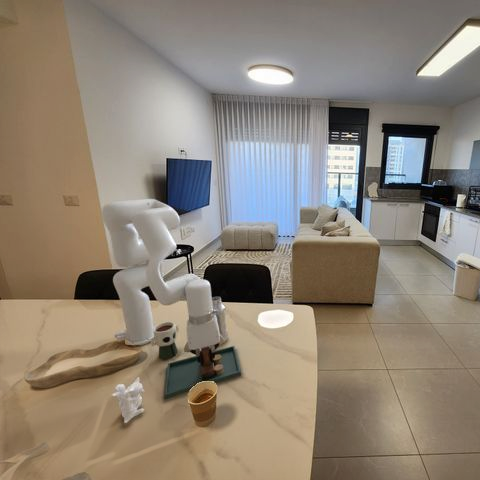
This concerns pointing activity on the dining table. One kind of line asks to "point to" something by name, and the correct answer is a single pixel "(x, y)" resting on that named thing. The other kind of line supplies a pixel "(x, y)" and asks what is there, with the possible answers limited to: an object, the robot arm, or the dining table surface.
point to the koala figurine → (129, 399)
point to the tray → (198, 372)
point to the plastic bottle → (220, 316)
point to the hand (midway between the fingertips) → (206, 361)
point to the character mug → (165, 339)
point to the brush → (207, 364)
